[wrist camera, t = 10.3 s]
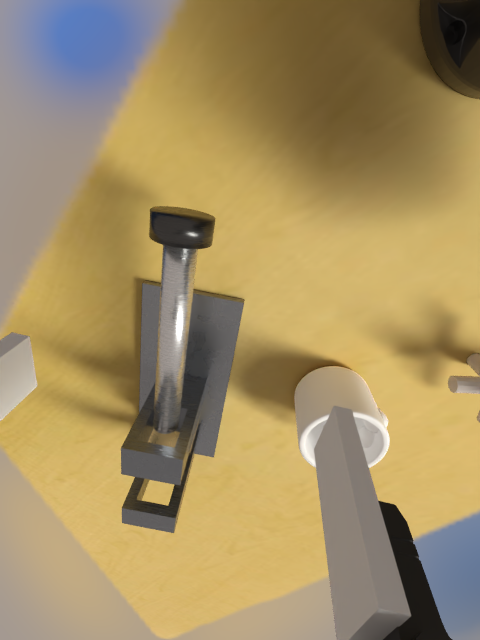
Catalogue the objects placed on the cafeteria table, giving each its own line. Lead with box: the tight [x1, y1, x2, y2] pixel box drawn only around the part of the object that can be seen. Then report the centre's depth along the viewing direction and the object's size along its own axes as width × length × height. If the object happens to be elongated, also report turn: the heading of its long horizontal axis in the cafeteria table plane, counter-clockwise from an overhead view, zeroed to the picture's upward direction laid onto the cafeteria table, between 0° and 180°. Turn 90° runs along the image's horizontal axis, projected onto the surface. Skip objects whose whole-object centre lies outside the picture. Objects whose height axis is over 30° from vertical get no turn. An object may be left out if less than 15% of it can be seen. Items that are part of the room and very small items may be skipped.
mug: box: [294, 366, 389, 468], centre depth 39 cm, size 12×10×9 cm
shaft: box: [149, 206, 215, 434], centre depth 30 cm, size 23×5×5 cm, turn 170°
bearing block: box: [121, 280, 244, 533], centre depth 37 cm, size 27×12×14 cm, turn 170°
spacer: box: [148, 416, 200, 455], centre depth 42 cm, size 4×6×6 cm
